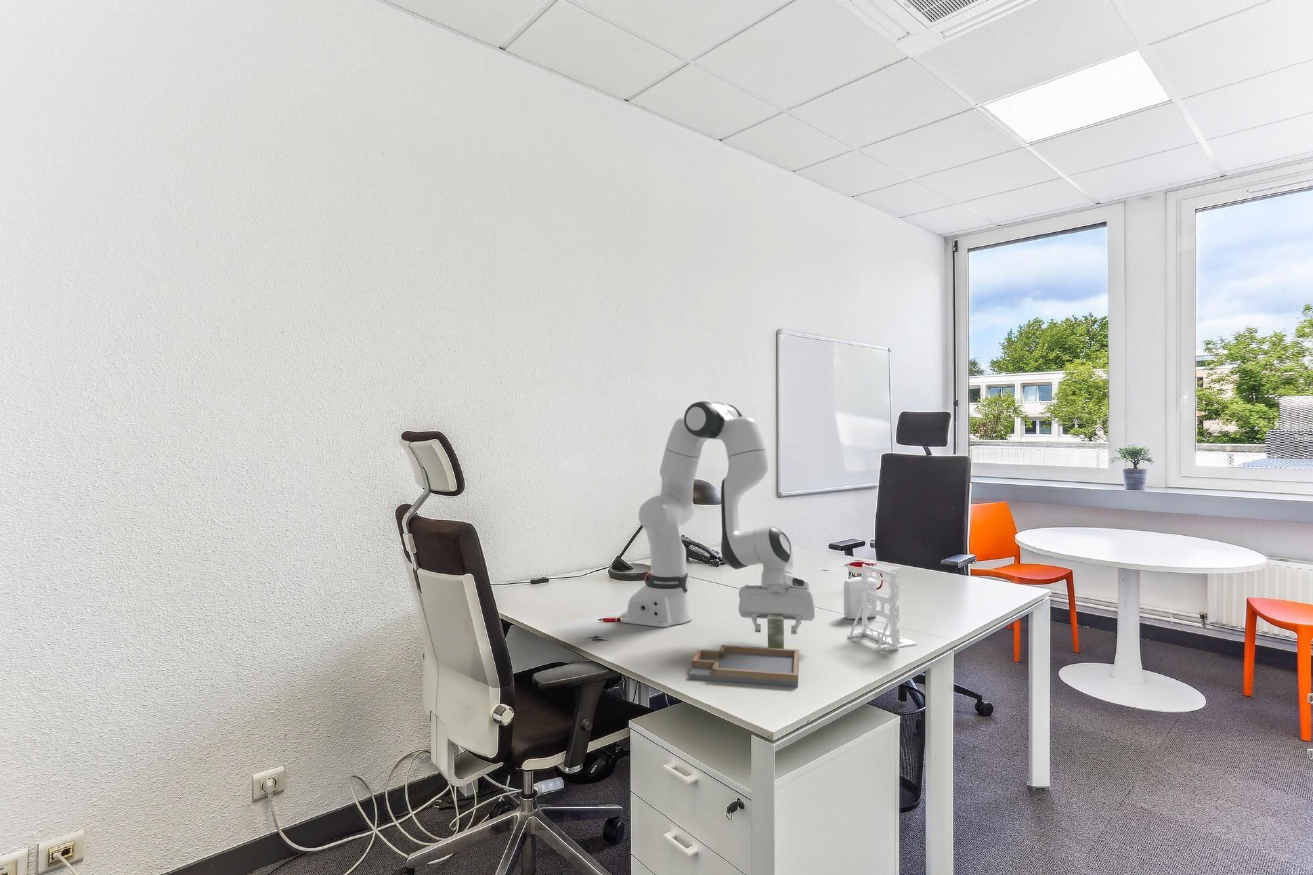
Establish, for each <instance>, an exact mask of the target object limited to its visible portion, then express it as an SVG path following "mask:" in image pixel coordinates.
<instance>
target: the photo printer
mask: <svg viewBox="0 0 1313 875" xmlns="http://www.w3.org/2000/svg"><path fill="white" fill-rule="evenodd" d="M866 584H867V587H868V590H869V591H870V592H873V593H876V594H878V593H877V591H878V590H877V588H878V587H877V582H876V580H875V578H872V577H868V579H867V582H866ZM862 593H863V587H862V579H861V576H856V577H852V578H848V579H847V580H845V581H844V582H843V615H844V618H845V619H847V620H852V619H853V620H855V619H856V616H857V613H858V612H859V609H860V606H861V603H862V601H861V598H862ZM877 601H878V600H876V607H878V603H877ZM868 606H871V607H872V598H870V597H868ZM862 614H863V608H862V609H861V612H860V615H859V618H858V619H862ZM877 616H878V615H876V614H873V613H871V612H869V614H868V616H867V619H868V618H876V617H877Z"/></svg>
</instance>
